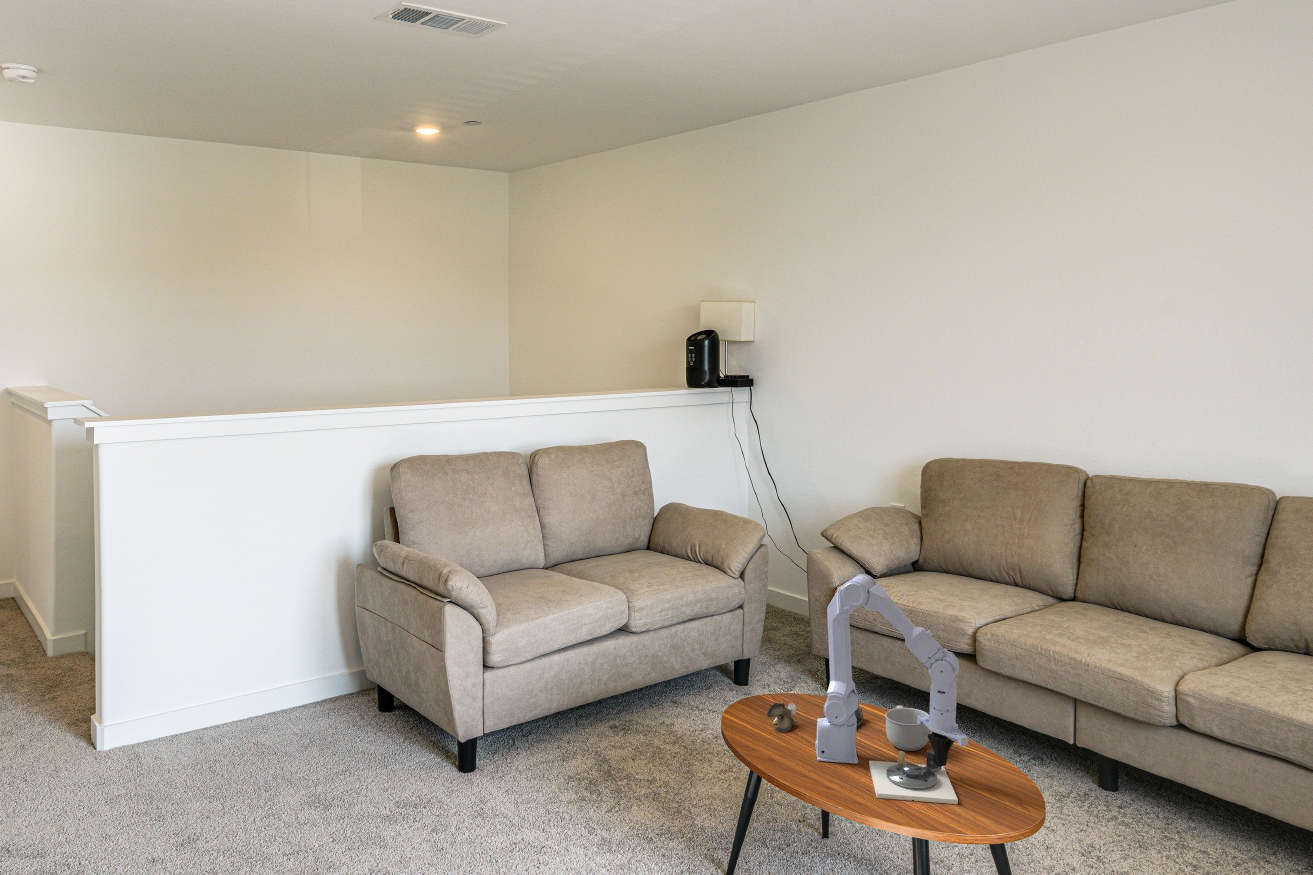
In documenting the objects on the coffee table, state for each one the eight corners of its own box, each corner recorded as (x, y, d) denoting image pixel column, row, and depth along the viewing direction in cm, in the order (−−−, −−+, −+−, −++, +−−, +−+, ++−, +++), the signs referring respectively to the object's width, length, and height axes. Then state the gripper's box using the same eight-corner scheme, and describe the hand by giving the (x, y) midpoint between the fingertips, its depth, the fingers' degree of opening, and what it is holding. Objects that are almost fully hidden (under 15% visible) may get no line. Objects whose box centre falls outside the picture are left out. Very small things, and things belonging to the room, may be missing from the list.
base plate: (876, 797, 199) (877, 779, 199) (868, 764, 216) (869, 747, 216) (957, 804, 197) (958, 786, 197) (943, 770, 214) (944, 753, 214)
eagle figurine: (763, 713, 244) (759, 719, 235) (779, 691, 244) (776, 697, 235) (787, 732, 242) (783, 738, 233) (803, 710, 242) (800, 716, 233)
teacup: (931, 756, 221) (933, 724, 221) (885, 752, 223) (887, 720, 223) (925, 734, 235) (926, 704, 234) (881, 730, 237) (883, 700, 236)
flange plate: (915, 793, 199) (916, 774, 198) (876, 774, 208) (876, 756, 207) (958, 776, 208) (959, 758, 207) (918, 759, 216) (919, 741, 216)
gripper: (979, 715, 203) (977, 774, 204) (934, 694, 217) (932, 750, 218) (954, 719, 201) (952, 780, 201) (911, 698, 214) (909, 754, 215)
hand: (940, 765), depth 209 cm, fingers closed
